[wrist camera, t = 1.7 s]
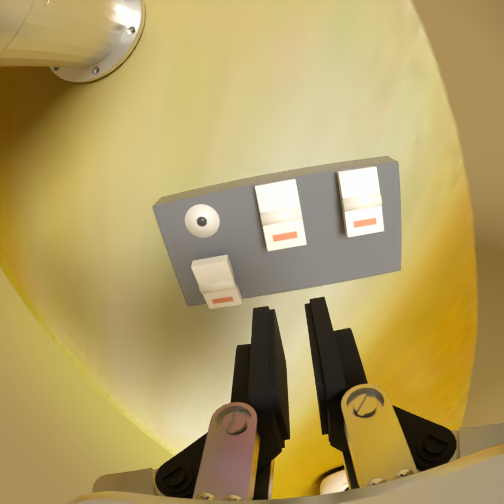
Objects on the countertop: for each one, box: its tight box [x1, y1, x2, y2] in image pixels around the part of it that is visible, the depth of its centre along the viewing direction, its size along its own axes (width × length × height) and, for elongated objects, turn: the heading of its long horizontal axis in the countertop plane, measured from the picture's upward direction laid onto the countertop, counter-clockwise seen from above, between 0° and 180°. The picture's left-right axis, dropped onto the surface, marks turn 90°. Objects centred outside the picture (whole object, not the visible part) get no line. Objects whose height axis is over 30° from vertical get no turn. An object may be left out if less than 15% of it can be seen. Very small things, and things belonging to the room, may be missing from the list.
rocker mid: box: [255, 178, 307, 251], centre depth 28 cm, size 6×4×2 cm, turn 12°
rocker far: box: [191, 255, 242, 309], centre depth 32 cm, size 6×4×2 cm, turn 12°
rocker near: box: [337, 167, 384, 237], centre depth 27 cm, size 6×4×2 cm, turn 12°
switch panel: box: [153, 156, 401, 306], centre depth 32 cm, size 12×24×3 cm, turn 102°
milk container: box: [320, 468, 349, 495], centre depth 54 cm, size 17×17×18 cm
